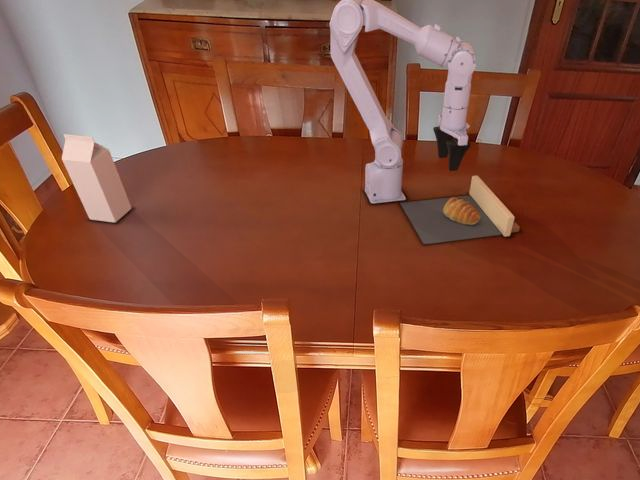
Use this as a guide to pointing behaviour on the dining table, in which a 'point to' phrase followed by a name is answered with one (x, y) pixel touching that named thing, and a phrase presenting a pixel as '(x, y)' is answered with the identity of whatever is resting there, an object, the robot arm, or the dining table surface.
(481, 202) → the back board
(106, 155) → the milk carton
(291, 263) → the dining table surface
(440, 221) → the placemat
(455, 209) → the pastry
